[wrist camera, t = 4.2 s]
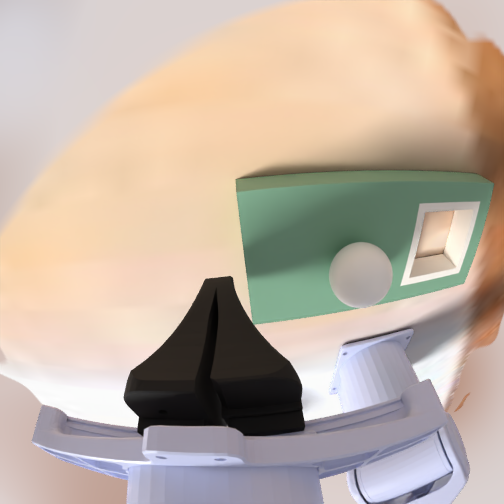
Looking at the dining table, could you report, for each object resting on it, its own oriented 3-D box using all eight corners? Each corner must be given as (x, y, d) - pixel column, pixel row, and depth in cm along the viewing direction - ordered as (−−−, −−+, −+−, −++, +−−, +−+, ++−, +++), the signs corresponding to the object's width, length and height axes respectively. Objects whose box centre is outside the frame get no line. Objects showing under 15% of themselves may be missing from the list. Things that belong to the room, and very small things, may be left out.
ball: (371, 276, 16) (394, 314, 13) (319, 284, 16) (336, 327, 13) (379, 227, 14) (411, 262, 11) (322, 233, 14) (345, 273, 11)
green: (451, 269, 19) (463, 283, 18) (250, 303, 19) (253, 324, 18) (476, 173, 15) (494, 183, 13) (235, 179, 14) (236, 191, 13)
